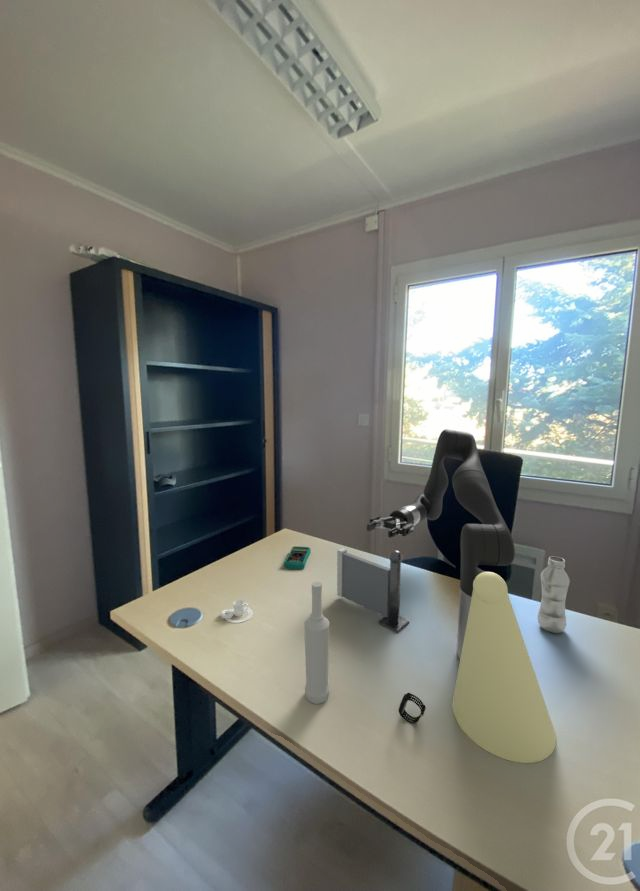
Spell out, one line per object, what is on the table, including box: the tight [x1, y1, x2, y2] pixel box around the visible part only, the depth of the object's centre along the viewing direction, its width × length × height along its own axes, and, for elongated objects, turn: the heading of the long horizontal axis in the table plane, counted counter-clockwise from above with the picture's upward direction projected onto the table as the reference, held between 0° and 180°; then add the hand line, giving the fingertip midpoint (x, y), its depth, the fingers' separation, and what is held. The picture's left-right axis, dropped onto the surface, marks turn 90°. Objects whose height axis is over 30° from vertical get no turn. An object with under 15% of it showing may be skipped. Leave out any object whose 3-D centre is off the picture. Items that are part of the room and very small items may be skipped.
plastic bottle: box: [537, 555, 571, 634], centre depth 99 cm, size 6×7×20 cm
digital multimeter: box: [283, 546, 312, 570], centre depth 142 cm, size 8×15×3 cm, turn 172°
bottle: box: [304, 581, 330, 705], centre depth 77 cm, size 5×5×25 cm
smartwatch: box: [398, 692, 426, 725], centre depth 72 cm, size 4×5×5 cm
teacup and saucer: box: [219, 599, 254, 624], centre depth 107 cm, size 9×8×4 cm
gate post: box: [378, 549, 410, 634], centre depth 101 cm, size 6×6×21 cm
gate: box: [336, 547, 390, 618], centre depth 109 cm, size 18×2×15 cm, turn 47°
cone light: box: [451, 571, 557, 764], centre depth 68 cm, size 25×18×35 cm
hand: (378, 531), depth 117 cm, fingers open, 7 cm apart
